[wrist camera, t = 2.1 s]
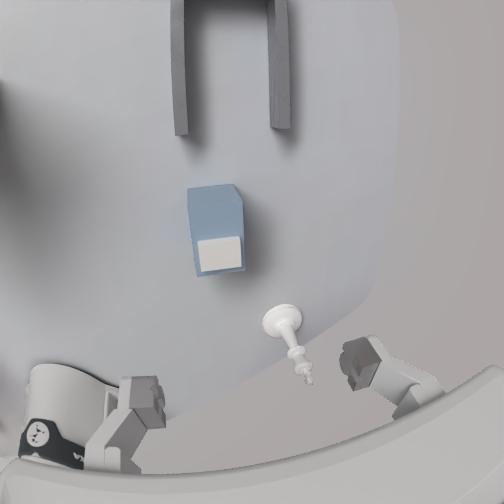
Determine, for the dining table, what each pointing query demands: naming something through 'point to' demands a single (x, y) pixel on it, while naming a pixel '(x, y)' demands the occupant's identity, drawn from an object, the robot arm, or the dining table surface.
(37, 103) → the dining table surface
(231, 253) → the block
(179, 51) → the grey u-shaped piece
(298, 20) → the dining table surface
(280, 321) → the chess piece
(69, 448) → the robot arm
